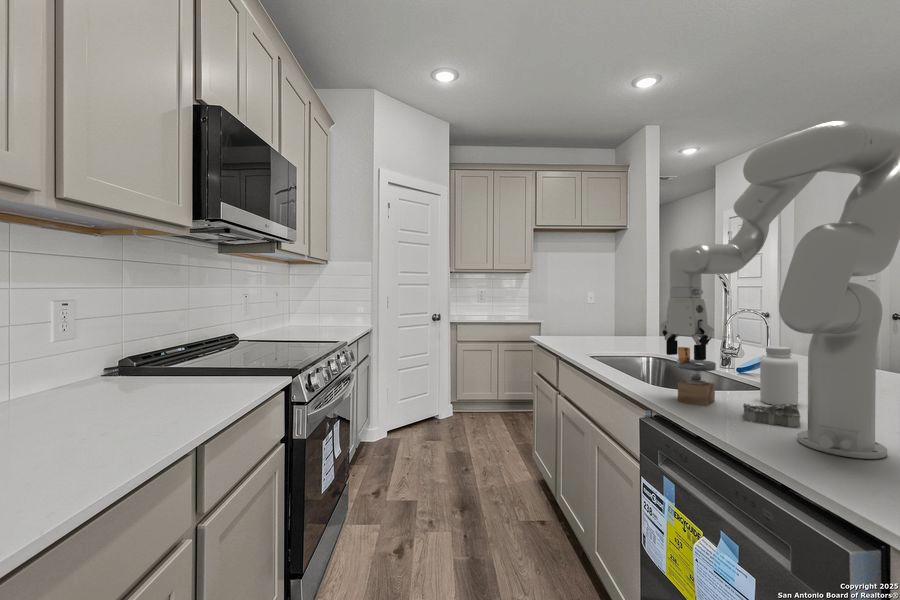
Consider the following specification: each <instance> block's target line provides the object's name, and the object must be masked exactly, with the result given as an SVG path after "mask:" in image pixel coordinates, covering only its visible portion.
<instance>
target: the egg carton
mask: <svg viewBox="0 0 900 600" xmlns="http://www.w3.org/2000/svg"><path fill="white" fill-rule="evenodd" d="M742 408H743V420H747V421H749V422H751V421H752V422H753V423H757V422H760V421H762V423H766V424H767V425H773V424H774V425H782V424H783V426H786V427H788V426H789V428H794V426H799V427H800V426H801V421H800V420H801V418H802V417H801V414H800V411H799V407H798V404H797V405H794V404H793V405H792V404H781V405H780V406H776V405H769V406H768V405H767V406H765V405H763V404H762V405H757V404H756V405H750V404H746V403H743V407H742ZM756 421H757V422H756Z"/></svg>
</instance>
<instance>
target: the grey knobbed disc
mask: <svg viewBox="0 0 900 600" xmlns="http://www.w3.org/2000/svg"><path fill="white" fill-rule="evenodd" d="M677 355H678V356H677V357H678V358H677V360H676V363H677V368H678V369H681V370H687V371H691V380H699V381H702V372H710V371H711V372H712V371H713V372H714V371H716V370H717V363H716V362H714V361H710V360H694V358H693V359H691V347H688V346H687V347H686V346H678V354H677Z"/></svg>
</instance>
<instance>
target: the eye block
mask: <svg viewBox="0 0 900 600" xmlns="http://www.w3.org/2000/svg"><path fill="white" fill-rule="evenodd" d="M715 389H716V388H715V382H710V381H709V382H708V381H705V380H692V379H685V380H683V381H680V382H678V383H677V402H679V403H685V404H689V405H696V406H702V407H709V406H710V405H711V404H713V403H715V402H714V401H716V400H715V398H716V395H715V391H716V390H715Z"/></svg>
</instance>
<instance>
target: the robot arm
mask: <svg viewBox="0 0 900 600" xmlns="http://www.w3.org/2000/svg"><path fill="white" fill-rule="evenodd" d="M742 169H743V170H742V173H743V177H744V179H745V180H746V181H747V182H748V183H749V185H748V187H747V188H746V189H745V190H744V192H742V193H741V195H740V196H739V197H738V198H737V200H736V201H735V202H734V204H733V211H734V213H735V214H736V215H737V217H738V218H739V219H741V220H742V224H741V226H740V229H739V230H738V232H736V234H735V235H734V236H733V238H732V239H731V240H729V242H727V244H726V243H725V244H724V243H723V244H722V243H721V244H718V243H701V244H697V245H693V246H690V247H679V248H673V249H672V250H670V253H669V299H668V303H667V308H666V320H665V321H663V322H662V323H660V327H661V330H662V332H661V333H662V335H663V337H664V340H665V341H666V348H665V349H666V350H665V351H666V355H668V356H675V355H678V347H679V346H678V344H679V343H678V339H677V338H678V336H679V337H680V336H682V337H688V338H689V337H690V338H692V340H693V341H694V343H695V344H694V345H693V360H705V361H707V345H709V341H711V339H712V337H713V334H714V332H715V329H714V327H712V326H710V325H709V324H708V314H707V313H708V312H707V307H706V306H707V305H706V303H705V300H704V299H705V298H704V299H703V298H702V295H703V294H704V290H703V289H702V275H729V274H734V273H736V272H738V271H740V270H741V269H743V268H744V267H745V266H746V265H747V264H748V263H750V262H751V261H752V260H753V259H754V258H755V257H756V255H758V253H760V251H761V250H762V249H763V247H764V245H765V243H766V240H767V238H768V235H769V231H770V225H771V223H772V222H773V221H774V220H775V219H776V217H778V216H779V215H780V213H782V211H783V210H784V209H785V208H787V206H788V205H789V204H790V203H791V202H792V201H793V200H794V199H795V198H796V197H797V195H799V194H800V193H801V192H802V190H803V189H805V188H806V187H807V185H808V184H809V183H810V182H811V181H812V180H813V179H814V178H815V176H816V175H817V174H818V173H821V172H829V173H830V172H831V173H838V174H849V175H855V176H859V181H858V183H856V185H855V186H854V187H853V188H852V190H851V191H850V193H849V194H848V196H847V198H846V200H845V203H844V206H843V210H842V213H841V216H840V218H839V220H838V222H831V223H825V224H821V225H819V226H816V227H814V228H812V229H811V230H809V231H808V232H807V233H806V234H805V235H804V236H803V237H802V238H801V239H800V240H799V241H798V243H797V245H796V247H795V248H794V251H793V254H792V257H791V261H790V264H789V267H788V271H787V274H786V276H785V280H784V282H783V287H782V289H781V293H780V297H779V302H778V311H779V316H780V318H781V320H782V322H783V323H784V324H785V325H786V327H787V328H789V329H790V330H793V331H795V332H796V333H797V332H798V333H802V334H807V335H809V334H810V335H812V336H811V338H810V340H809V341H810V342H809V344H808V349H807V350H808V351H807V352H808V353H807V430H802V431H800V432H797V437H796V438H797V441H798V442H799V443H801V444H802V445H804V446H806V447H807V448H811V449H813V450H816V451H819V452H822V453H826V454H830V455H831V454H832V455H834V456H835V455H836V456H839V457H840V456H841V457H844V458H845V457H847V458H852V459H861V460H862V459H866V460H877V459H883V458H885V457H887V456H888V448H887V447H886V446H884V445H883V444H881V443H880V442H877V441H876V393H877V392H876V391H877V390H876V387H877V386H876V379H877V378H876V377H877V376H876V373H877V345H878V337H879V333H880V329H881V324H882V320H883V305H882V302H881V300H880V298H879V296H878V295H877V293H875V292H874V291H873V289H870V288H869V287H867V286H865V285H863V284H859V283H855V282H850V281H851V278H852V277H853V278H854V277H868V276H872V275H876V274H879V273H881V272H883V271H884V270H885V269H886V268H887V267H888V266H890V263H891V262H892V260H893V258H894V256H895V253H896V251H897V247H898V245H899V241H900V130H897V129H894V128H891V127H886V126H882V125H877V124H870V123H862V122H857V121H852V120H851V121H850V120H833V121H831V120H830V121H827V122H823V123H819V124H817V125H813V126H812V127H808V128H805V129H803V130H799V131H796V132H793V133H790V134H788V135H785V136H781V137H779V138H776V139H774V140H771V141H767V142H766V143H764V144H762V145H760V146H759V147H757V148H756V149H754V150H753V151H752V152H751V153H750V154H749V156H748V157H747V158H746V160H745V162H744V164H743V168H742Z"/></svg>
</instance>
